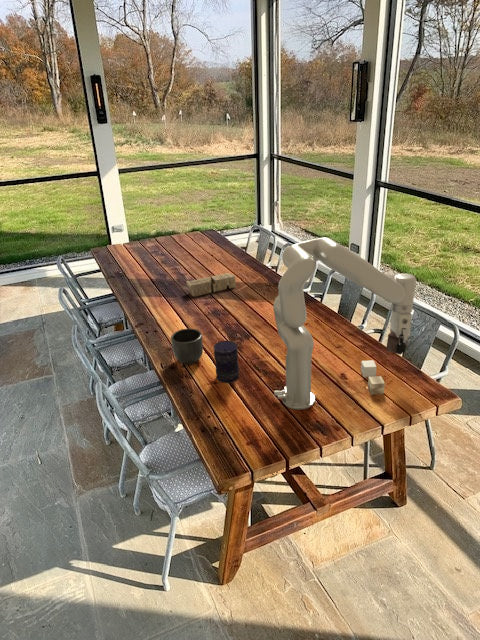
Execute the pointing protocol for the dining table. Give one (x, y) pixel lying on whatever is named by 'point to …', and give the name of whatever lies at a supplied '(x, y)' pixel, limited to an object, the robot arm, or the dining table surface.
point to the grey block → (368, 368)
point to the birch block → (376, 385)
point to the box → (393, 342)
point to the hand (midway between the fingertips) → (396, 346)
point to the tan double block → (211, 284)
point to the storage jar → (226, 361)
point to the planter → (187, 345)
